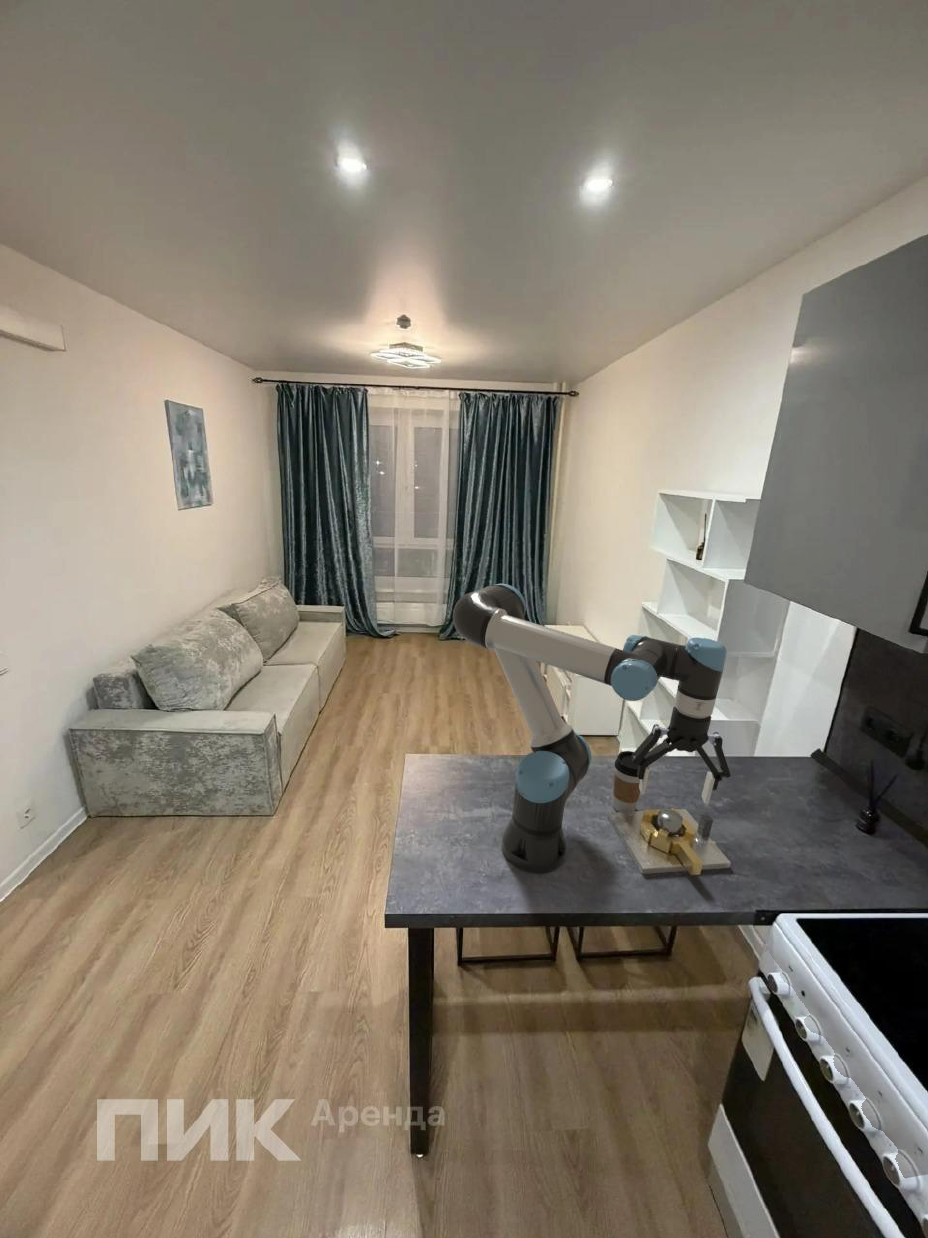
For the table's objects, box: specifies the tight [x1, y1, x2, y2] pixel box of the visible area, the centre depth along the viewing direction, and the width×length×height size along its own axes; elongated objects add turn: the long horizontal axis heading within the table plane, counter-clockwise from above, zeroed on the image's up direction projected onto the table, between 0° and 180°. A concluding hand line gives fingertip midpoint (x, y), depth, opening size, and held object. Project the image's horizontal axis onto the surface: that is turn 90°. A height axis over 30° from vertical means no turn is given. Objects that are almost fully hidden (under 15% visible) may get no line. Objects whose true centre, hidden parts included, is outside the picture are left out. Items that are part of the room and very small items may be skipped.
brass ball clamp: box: [640, 807, 703, 876], centre depth 120 cm, size 18×12×4 cm, turn 8°
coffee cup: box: [612, 750, 641, 812], centre depth 134 cm, size 8×8×15 cm
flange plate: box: [607, 808, 732, 875], centre depth 123 cm, size 22×21×8 cm
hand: (672, 795), depth 112 cm, fingers open, 13 cm apart
